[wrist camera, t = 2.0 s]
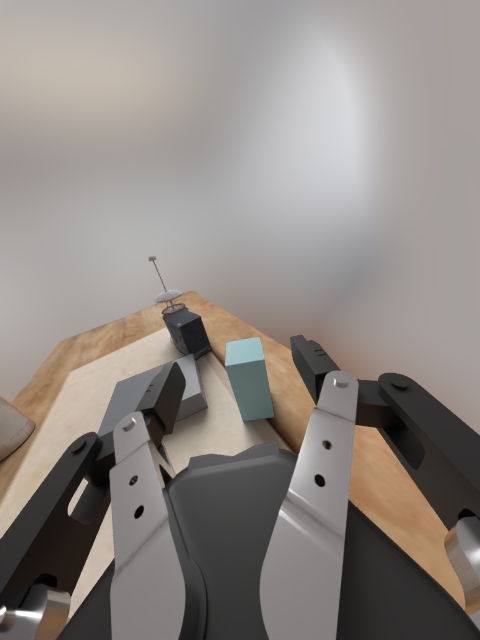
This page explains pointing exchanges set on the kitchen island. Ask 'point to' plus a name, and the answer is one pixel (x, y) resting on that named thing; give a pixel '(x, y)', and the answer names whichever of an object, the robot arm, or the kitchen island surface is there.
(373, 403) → the robot arm
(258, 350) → the teal block
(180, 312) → the small box
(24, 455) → the kitchen island surface
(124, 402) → the grey flat block
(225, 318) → the kitchen island surface
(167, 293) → the french press
